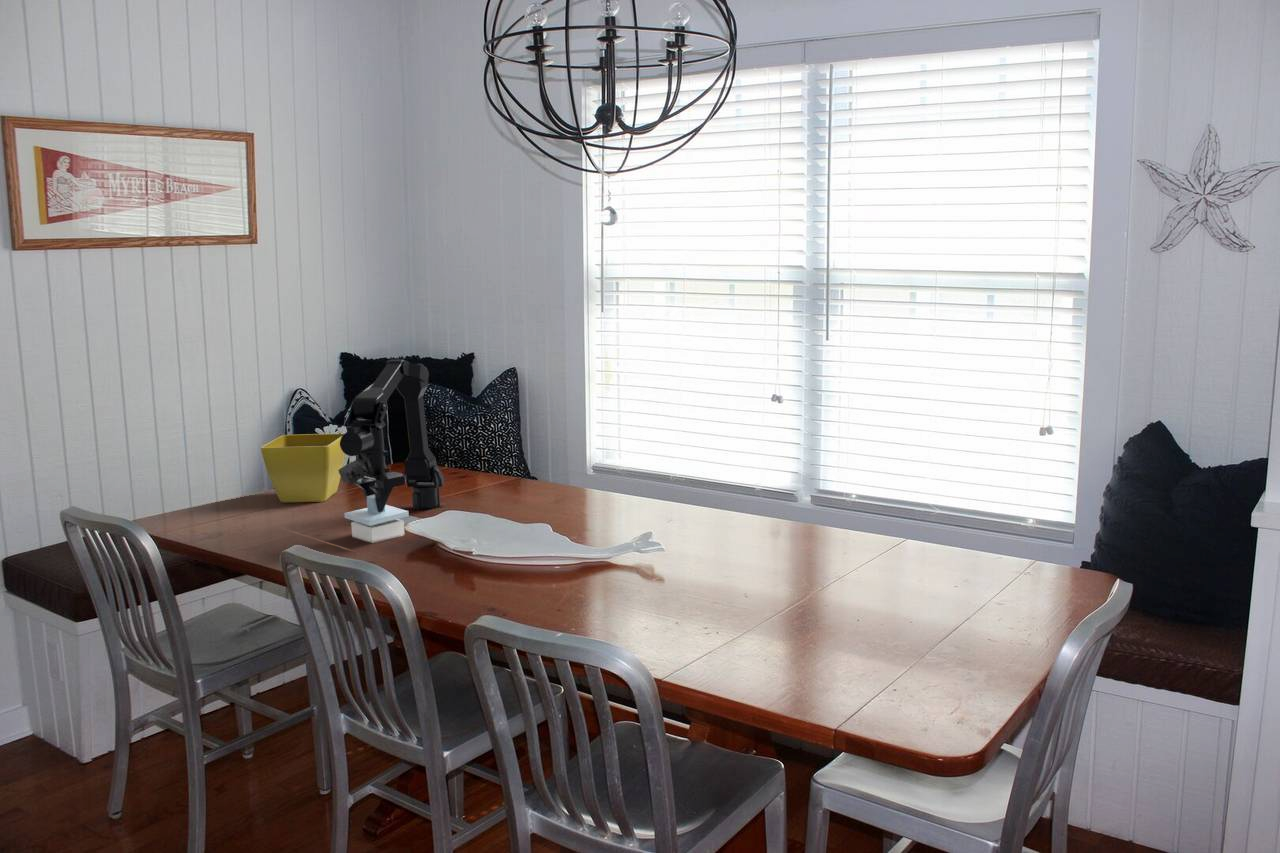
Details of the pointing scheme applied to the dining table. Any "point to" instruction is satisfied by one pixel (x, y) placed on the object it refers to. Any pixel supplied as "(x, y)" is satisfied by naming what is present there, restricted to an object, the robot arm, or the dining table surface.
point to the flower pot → (304, 466)
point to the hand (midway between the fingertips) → (376, 510)
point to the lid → (375, 513)
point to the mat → (409, 519)
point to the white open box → (378, 530)
